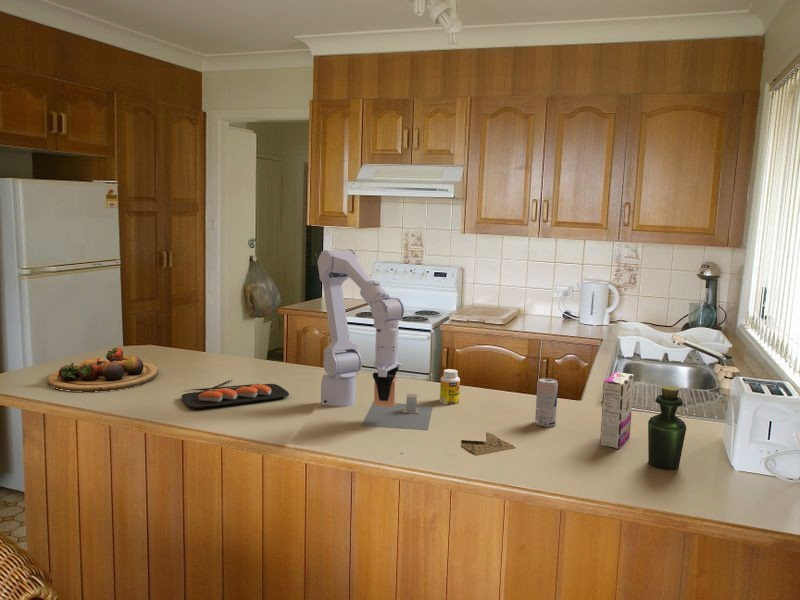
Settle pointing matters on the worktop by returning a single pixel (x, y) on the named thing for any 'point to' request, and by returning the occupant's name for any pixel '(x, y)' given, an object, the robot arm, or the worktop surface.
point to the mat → (398, 417)
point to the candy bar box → (616, 409)
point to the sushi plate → (233, 395)
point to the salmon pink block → (392, 395)
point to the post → (411, 404)
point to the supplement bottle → (450, 387)
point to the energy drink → (546, 402)
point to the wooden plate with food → (104, 373)
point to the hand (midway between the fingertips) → (385, 397)
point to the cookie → (486, 445)
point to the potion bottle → (666, 431)
